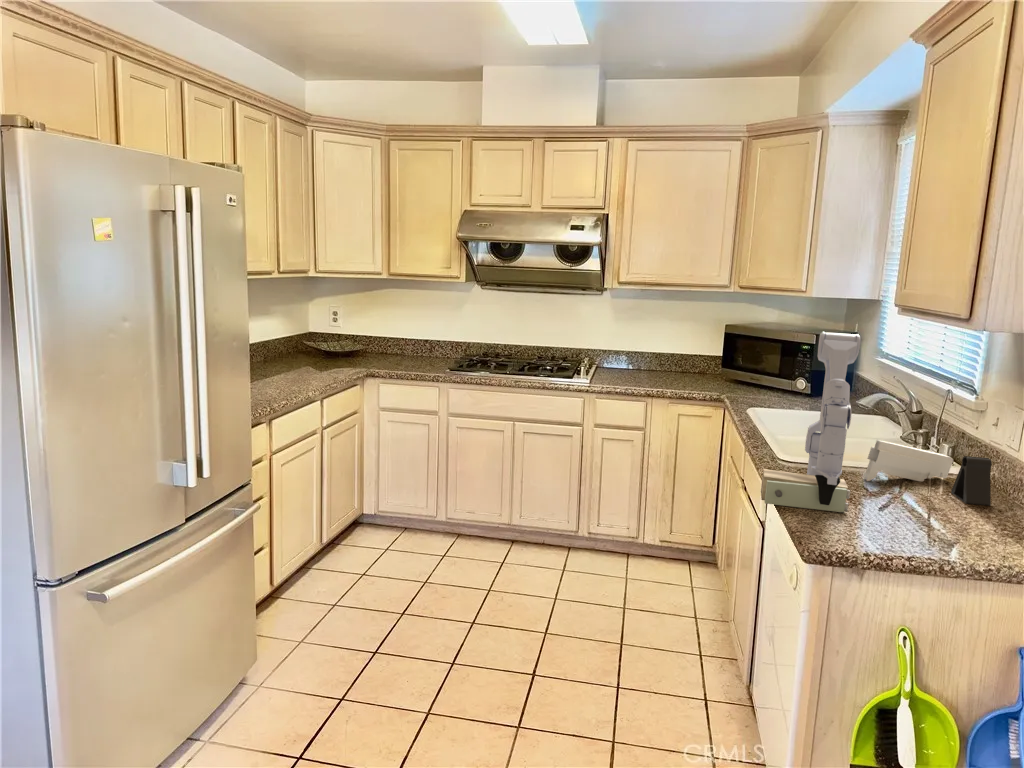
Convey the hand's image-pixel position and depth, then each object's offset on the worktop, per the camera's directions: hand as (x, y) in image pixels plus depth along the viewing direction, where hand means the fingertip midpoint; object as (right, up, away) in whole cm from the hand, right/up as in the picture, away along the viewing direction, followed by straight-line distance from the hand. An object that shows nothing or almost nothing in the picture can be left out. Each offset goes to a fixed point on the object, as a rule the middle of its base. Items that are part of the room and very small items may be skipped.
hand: (824, 503), depth 169 cm
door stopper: (+47, -2, +15) cm, 50 cm away
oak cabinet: (-2, -1, +8) cm, 8 cm away
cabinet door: (-4, -1, +2) cm, 4 cm away
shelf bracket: (+38, +1, +30) cm, 49 cm away
